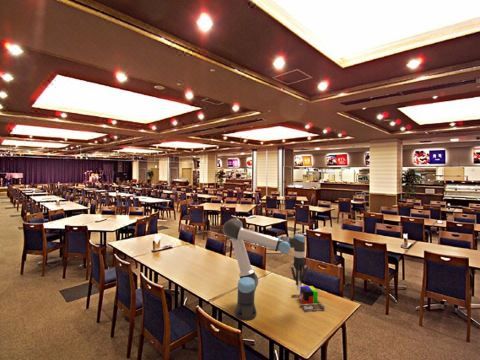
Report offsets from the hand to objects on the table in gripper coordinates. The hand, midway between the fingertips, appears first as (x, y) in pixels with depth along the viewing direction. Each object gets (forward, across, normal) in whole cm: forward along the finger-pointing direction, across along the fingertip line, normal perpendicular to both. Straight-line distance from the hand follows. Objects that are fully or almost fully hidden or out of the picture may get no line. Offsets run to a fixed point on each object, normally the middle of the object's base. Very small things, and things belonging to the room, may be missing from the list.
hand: (298, 289), depth 181 cm
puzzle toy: (+16, +14, +13) cm, 25 cm away
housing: (+16, +12, +9) cm, 21 cm away
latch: (+15, +8, 0) cm, 17 cm away
